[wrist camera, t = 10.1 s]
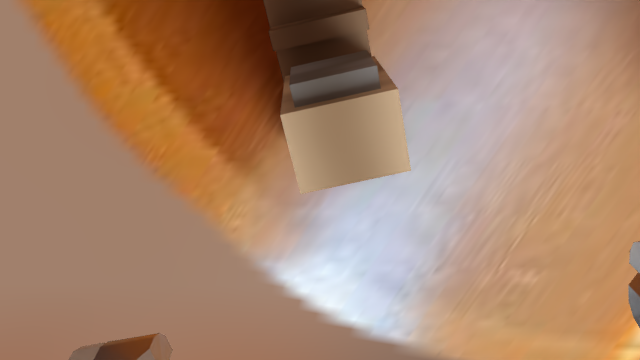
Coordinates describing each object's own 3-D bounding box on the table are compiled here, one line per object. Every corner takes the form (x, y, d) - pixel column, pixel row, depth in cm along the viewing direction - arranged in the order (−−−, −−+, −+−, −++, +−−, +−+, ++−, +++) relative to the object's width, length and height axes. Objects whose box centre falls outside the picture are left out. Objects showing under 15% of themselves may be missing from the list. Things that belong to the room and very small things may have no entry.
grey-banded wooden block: (370, 37, 22) (394, 65, 17) (385, 120, 24) (410, 170, 18) (280, 58, 22) (274, 92, 17) (300, 138, 24) (300, 193, 18)
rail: (322, -186, 21) (336, -271, 13) (380, 132, 26) (413, 206, 19) (227, -162, 21) (185, -231, 13) (304, 149, 27) (306, 229, 19)
